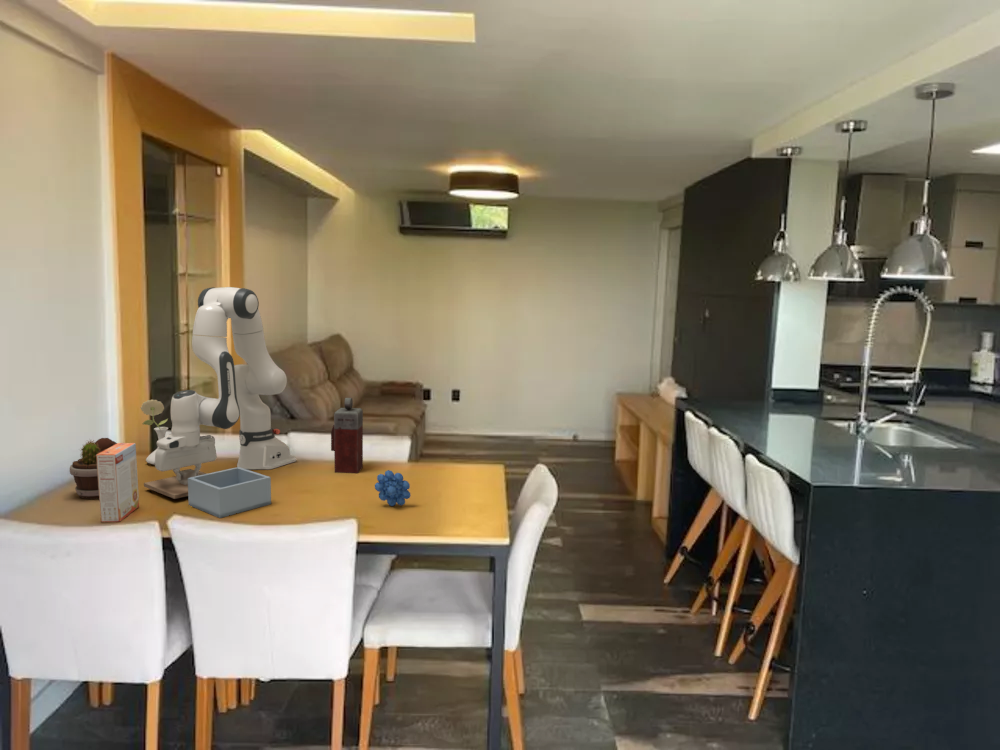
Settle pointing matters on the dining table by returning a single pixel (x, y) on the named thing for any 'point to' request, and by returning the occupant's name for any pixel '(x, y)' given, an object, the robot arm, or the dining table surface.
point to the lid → (173, 484)
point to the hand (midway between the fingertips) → (187, 478)
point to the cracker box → (117, 482)
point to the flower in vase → (154, 409)
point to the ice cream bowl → (104, 444)
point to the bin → (229, 491)
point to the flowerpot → (86, 472)
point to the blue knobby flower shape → (392, 488)
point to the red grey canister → (348, 438)
